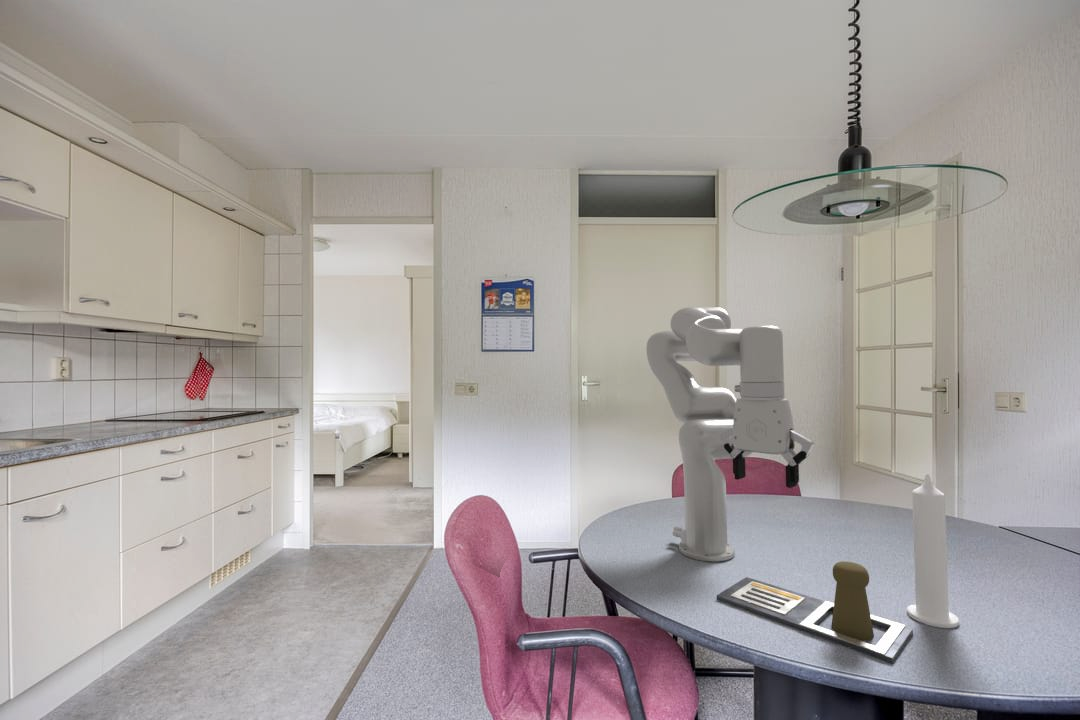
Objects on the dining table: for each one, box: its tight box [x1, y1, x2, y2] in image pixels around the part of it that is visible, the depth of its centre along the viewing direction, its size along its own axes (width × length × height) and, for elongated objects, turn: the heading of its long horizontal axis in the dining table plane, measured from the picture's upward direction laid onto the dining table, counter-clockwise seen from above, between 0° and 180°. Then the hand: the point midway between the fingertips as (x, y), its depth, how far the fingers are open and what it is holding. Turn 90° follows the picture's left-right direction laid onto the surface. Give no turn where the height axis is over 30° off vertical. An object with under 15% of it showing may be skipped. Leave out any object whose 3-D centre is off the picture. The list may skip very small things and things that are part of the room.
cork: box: [830, 561, 875, 642], centre depth 82 cm, size 6×6×11 cm
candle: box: [906, 473, 960, 629], centre depth 86 cm, size 7×7×25 cm
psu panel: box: [716, 576, 914, 664], centre depth 87 cm, size 28×12×1 cm, turn 41°
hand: (764, 482), depth 93 cm, fingers open, 9 cm apart
